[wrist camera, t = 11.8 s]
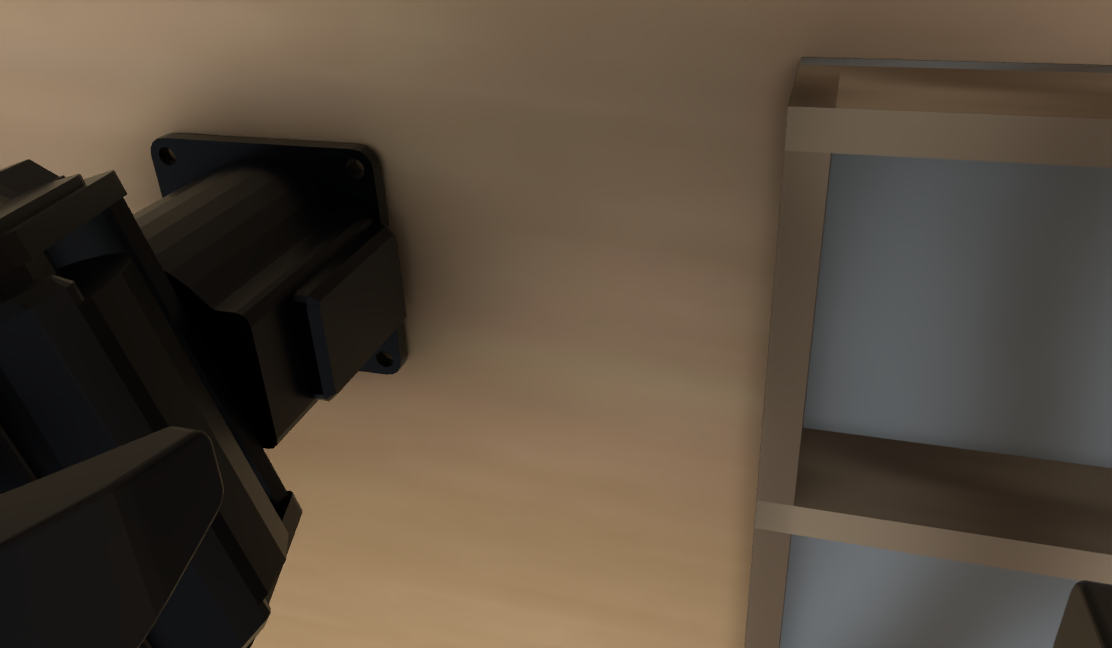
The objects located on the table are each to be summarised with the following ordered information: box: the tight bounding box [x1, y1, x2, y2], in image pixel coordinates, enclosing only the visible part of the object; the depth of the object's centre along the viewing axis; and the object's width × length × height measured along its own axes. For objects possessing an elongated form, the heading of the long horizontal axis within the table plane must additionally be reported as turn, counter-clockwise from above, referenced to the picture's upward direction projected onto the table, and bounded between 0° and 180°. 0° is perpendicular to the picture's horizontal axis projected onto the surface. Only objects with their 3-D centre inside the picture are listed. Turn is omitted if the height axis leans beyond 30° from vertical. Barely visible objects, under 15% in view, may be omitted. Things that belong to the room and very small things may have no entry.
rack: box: [745, 57, 1112, 648], centre depth 23 cm, size 10×27×4 cm, turn 2°
